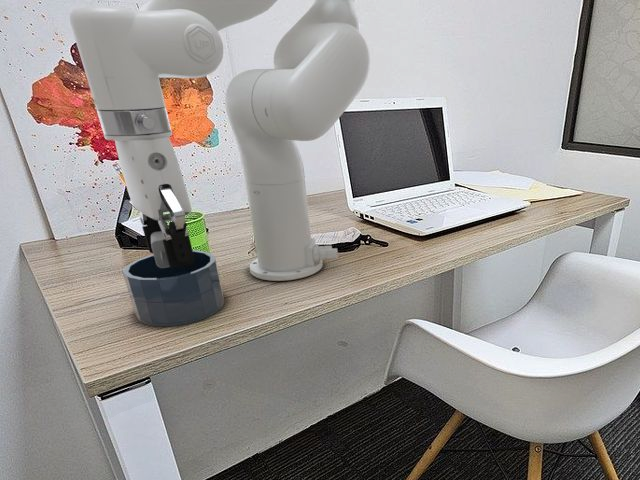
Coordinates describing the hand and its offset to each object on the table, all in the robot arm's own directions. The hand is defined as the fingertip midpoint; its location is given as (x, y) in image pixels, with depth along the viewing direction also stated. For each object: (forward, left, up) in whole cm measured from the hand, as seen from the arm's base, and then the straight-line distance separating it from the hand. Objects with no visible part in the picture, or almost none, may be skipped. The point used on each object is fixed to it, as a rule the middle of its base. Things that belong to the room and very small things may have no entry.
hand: (171, 257), depth 67 cm
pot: (0, 0, -8) cm, 8 cm away
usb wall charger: (0, 0, -1) cm, 1 cm away
